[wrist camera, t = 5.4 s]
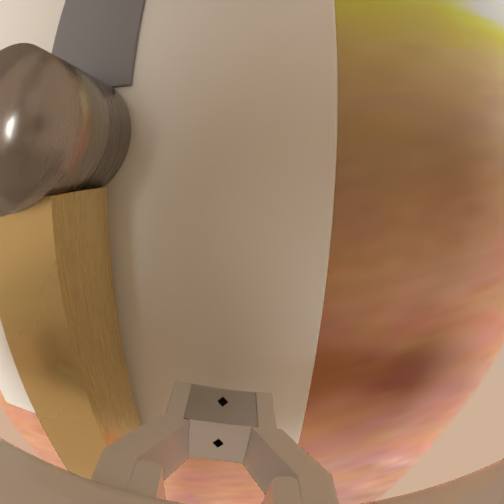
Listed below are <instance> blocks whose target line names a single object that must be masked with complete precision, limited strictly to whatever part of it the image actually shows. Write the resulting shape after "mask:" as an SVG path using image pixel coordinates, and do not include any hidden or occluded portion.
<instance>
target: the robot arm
mask: <svg viewBox="0 0 504 504" xmlns="http://www.w3.org/2000/svg"><path fill="white" fill-rule="evenodd" d="M188 457H194V458H202V459H211V460H220V461H228V462H236V463H243V465H244V466H245V468H246V469H247V470H248V472H249V473H250V475H251V476H252V477H253V479H254V480H255V482H256V483H257V484H258V486H259V487H260V488H261V490H262V491H263V492H264V494H265V495H266V496H265V498H264V500H263V502H262V504H339V502H338V498H337V494H336V491H335V487H334V483H333V479H332V475H331V474H330V473H329V472H328V471H327V470H326V469H325V468H324V467H322V466H321V465H320V464H319V463H318V462H317V461H316V460H314V459H313V458H312V457H311V456H310V455H309V454H308V453H307V452H306V451H304V450H303V449H302V448H301V447H300V446H299V445H298V444H297V443H296V442H295V441H294V440H293V439H292V438H291V437H289V436H288V435H287V434H286V433H285V432H284V431H283V430H282V429H277V426H276V418H275V410H274V402H273V395H272V393H267V392H249V391H239V390H230V389H222V388H216V387H209V386H203V385H197V384H191V383H185V382H180V381H176V382H175V384H174V387H173V390H172V393H171V397H170V400H169V403H168V407H167V410H166V413H165V415H161V414H160V415H158V416H157V417H155V418H154V419H152V420H150V421H149V422H147V423H146V424H144V425H142V426H141V427H139V428H137V429H136V430H134V431H132V432H131V433H129V434H127V435H126V436H124V437H122V438H120V439H119V440H117V441H115V442H114V443H112V444H110V445H108V446H107V447H105V448H104V449H103V452H102V454H101V456H100V458H99V461H98V463H97V465H96V468H95V470H94V472H93V475H92V477H91V479H87V478H85V477H82V476H79V475H77V474H74V473H72V472H69V471H67V470H64V469H62V468H59V467H57V466H55V465H52V464H50V463H48V462H46V461H44V460H42V459H39V458H37V457H35V456H33V455H31V454H29V453H27V452H25V451H23V450H21V449H20V448H18V447H16V446H14V445H12V444H10V443H9V442H7V441H5V440H3V439H2V438H0V504H184V503H179V502H173V501H168V500H166V497H165V489H164V480H165V479H166V478H167V477H168V476H170V475H171V474H172V473H173V472H174V471H175V470H176V469H177V468H178V467H179V466H180V465H181V464H182V463H183V462H185V461H186V460H187V459H188ZM362 504H504V459H502V460H500V461H498V462H496V463H493V464H491V465H489V466H487V467H484V468H482V469H480V470H477V471H475V472H473V473H470V474H468V475H465V476H463V477H460V478H457V479H455V480H452V481H449V482H446V483H443V484H440V485H437V486H434V487H431V488H427V489H424V490H420V491H417V492H413V493H409V494H405V495H401V496H397V497H393V498H389V499H384V500H378V501H373V502H368V503H362Z"/></svg>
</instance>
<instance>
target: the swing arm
mask: <svg viewBox="0 0 504 504" xmlns="http://www.w3.org/2000/svg"><path fill="white" fill-rule="evenodd" d="M130 138H131V120H130V114H129V110H128V107H127V105H126V103H125V101H124V99H123V98H122V96H121V95H120V94H119V93H118V91H116V90H115V89H114V88H113V87H111V86H109V85H108V84H106V83H104V82H103V81H101V80H99V79H97V78H96V77H94V76H92V75H90V74H89V73H87V72H85V71H83V70H81V69H80V68H78V67H76V66H74V65H72V64H70V63H69V62H67V61H65V60H63V59H61V58H59V57H57V56H56V55H54V54H52V53H50V52H48V51H46V50H44V49H42V48H40V47H38V46H36V45H34V44H30V43H18V44H13V45H11V46H8V47H6V48H4V49H2V50H0V319H1V323H2V326H3V330H4V333H5V336H6V339H7V342H8V346H9V349H10V352H11V354H12V357H13V360H14V363H15V366H16V368H17V371H18V373H19V376H20V378H21V381H22V383H23V386H24V388H25V391H26V393H27V395H28V397H29V400H30V402H31V404H32V406H33V408H34V410H35V413H36V415H37V417H38V419H39V421H40V423H41V425H42V427H43V428H44V430H45V432H46V434H47V436H48V438H49V440H50V441H51V443H52V445H53V447H54V448H55V450H56V452H57V454H58V455H59V457H60V458H61V460H62V462H63V463H64V465H65V467H66V468H67V470H68V471H69V472H72V473H74V474H77V475H79V476H82V477H85V478H87V479H91V477H92V475H93V472H94V470H95V468H96V465H97V463H98V461H99V458H100V456H101V454H102V452H103V449H104V448H105V447H107V446H108V445H110V444H112V443H114V442H115V441H117V440H119V439H120V438H122V437H124V436H126V435H127V434H129V433H131V432H132V431H134V430H136V429H137V428H139V427H141V424H140V421H139V417H138V413H137V409H136V405H135V401H134V397H133V393H132V389H131V385H130V380H129V375H128V371H127V366H126V361H125V356H124V351H123V345H122V340H121V334H120V327H119V321H118V314H117V307H116V300H115V292H114V283H113V274H112V263H111V251H110V236H109V215H108V187H105V186H106V185H107V184H108V183H109V182H110V181H111V180H112V179H113V178H114V176H115V175H116V174H117V172H118V171H119V169H120V167H121V166H122V164H123V162H124V160H125V157H126V155H127V152H128V149H129V144H130Z"/></svg>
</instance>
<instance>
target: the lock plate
mask: <svg viewBox="0 0 504 504" xmlns="http://www.w3.org/2000/svg"><path fill="white" fill-rule="evenodd" d="M18 43H30V44H34V45H36V46H38V47H40V48H42V49H44V50H46V51H48V52H50V53H52V54H54V55H56V56H57V57H59V58H61V59H63V60H65V61H67V62H69V63H70V64H72V65H74V66H76V67H78V68H80V69H81V70H83V71H85V72H87V73H89V74H90V75H92V76H94V77H96V78H97V79H99V80H101V81H103V82H104V83H106V84H108V85H109V86H111V87H113V88H114V89H115V90H116V91H118V93H119V94H120V95H121V96H122V98H123V99H124V101H125V103H126V105H127V107H128V110H129V114H130V120H131V138H130V144H129V149H128V152H127V155H126V157H125V160H124V162H123V164H122V166H121V167H120V169H119V171H118V172H117V174H116V175H115V176H114V178H113V179H112V180H111V181H110V182H109V183H108V184H107V185H106V186H105V187H108V215H109V236H110V251H111V263H112V274H113V283H114V292H115V300H116V307H117V314H118V321H119V327H120V334H121V340H122V345H123V351H124V356H125V361H126V366H127V371H128V375H129V380H130V385H131V389H132V393H133V397H134V401H135V405H136V409H137V413H138V417H139V421H140V424H141V426H142V425H144V424H146V423H147V422H149V421H150V420H152V419H154V418H155V417H157V416H158V415H160V414H161V415H165V413H166V410H167V407H168V403H169V400H170V397H171V393H172V390H173V387H174V384H175V382H176V381H180V382H185V383H191V384H197V385H203V386H209V387H216V388H222V389H230V390H239V391H249V392H267V393H272V395H273V402H274V410H275V418H276V426H277V429H282V430H283V431H284V432H285V433H286V434H287V435H288V436H289V437H291V438H292V439H293V440H294V441H295V442H296V443H297V444H298V443H299V439H300V434H301V430H302V425H303V421H304V416H305V411H306V406H307V401H308V396H309V391H310V385H311V380H312V374H313V369H314V363H315V357H316V351H317V345H318V338H319V332H320V325H321V318H322V311H323V304H324V296H325V288H326V280H327V271H328V262H329V252H330V242H331V231H332V219H333V206H334V192H335V175H336V153H337V118H338V72H337V38H336V19H335V4H334V0H0V50H2V49H4V48H6V47H8V46H11V45H13V44H18ZM0 390H1V392H2V394H3V396H4V398H5V400H6V402H8V403H10V404H13V405H15V406H18V407H20V408H23V409H25V410H28V411H30V412H33V413H35V410H34V408H33V406H32V404H31V402H30V400H29V397H28V395H27V393H26V391H25V388H24V386H23V383H22V381H21V378H20V376H19V373H18V371H17V368H16V366H15V363H14V360H13V357H12V354H11V352H10V349H9V346H8V342H7V339H6V336H5V333H4V330H3V326H2V323H1V319H0Z"/></svg>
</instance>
